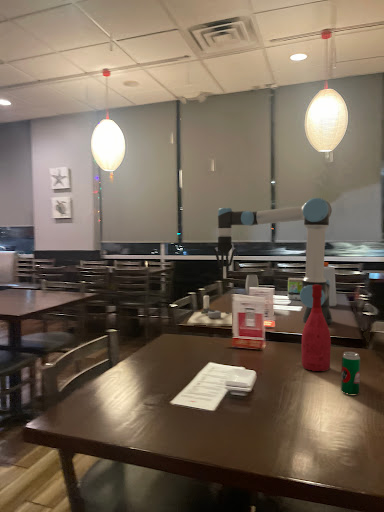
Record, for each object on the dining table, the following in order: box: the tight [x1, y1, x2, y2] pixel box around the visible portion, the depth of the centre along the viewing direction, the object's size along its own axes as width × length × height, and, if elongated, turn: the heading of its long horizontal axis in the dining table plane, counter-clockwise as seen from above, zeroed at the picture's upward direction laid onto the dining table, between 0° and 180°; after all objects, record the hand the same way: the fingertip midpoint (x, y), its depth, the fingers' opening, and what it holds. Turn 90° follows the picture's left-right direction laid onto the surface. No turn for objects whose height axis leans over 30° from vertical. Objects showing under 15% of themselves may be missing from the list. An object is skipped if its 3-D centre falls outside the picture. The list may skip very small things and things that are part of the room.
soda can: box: [340, 351, 361, 395], centre depth 115 cm, size 5×5×12 cm
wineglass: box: [245, 274, 260, 296], centre depth 239 cm, size 9×9×21 cm
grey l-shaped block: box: [203, 295, 222, 319], centre depth 211 cm, size 14×7×10 cm, turn 28°
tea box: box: [287, 277, 304, 301], centre depth 273 cm, size 15×10×15 cm
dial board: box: [186, 310, 233, 327], centre depth 209 cm, size 26×26×3 cm
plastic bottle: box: [323, 261, 337, 308], centre depth 250 cm, size 15×15×28 cm
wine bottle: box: [301, 284, 332, 372], centre depth 135 cm, size 10×10×30 cm
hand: (224, 278), depth 213 cm, fingers closed
